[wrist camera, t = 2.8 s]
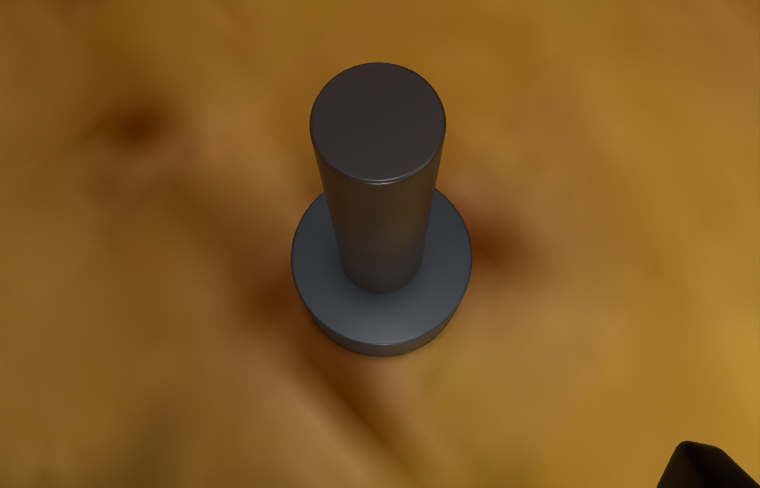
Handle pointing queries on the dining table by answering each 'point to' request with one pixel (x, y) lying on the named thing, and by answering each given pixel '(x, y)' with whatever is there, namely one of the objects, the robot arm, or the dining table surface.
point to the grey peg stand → (380, 215)
